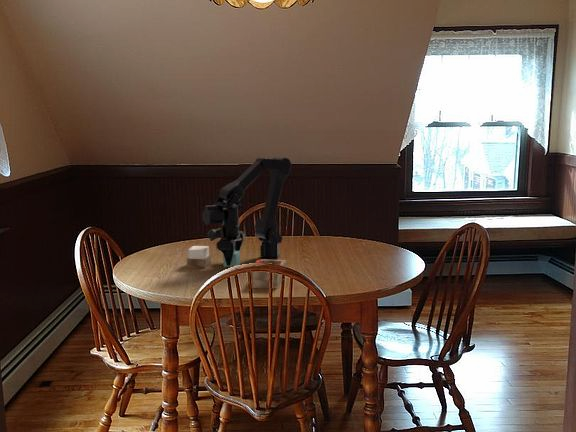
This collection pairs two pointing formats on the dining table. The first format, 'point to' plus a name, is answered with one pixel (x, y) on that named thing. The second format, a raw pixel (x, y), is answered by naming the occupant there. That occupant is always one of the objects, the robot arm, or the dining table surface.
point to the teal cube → (233, 259)
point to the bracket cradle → (267, 276)
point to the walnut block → (199, 262)
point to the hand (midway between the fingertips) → (231, 262)
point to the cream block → (198, 252)
